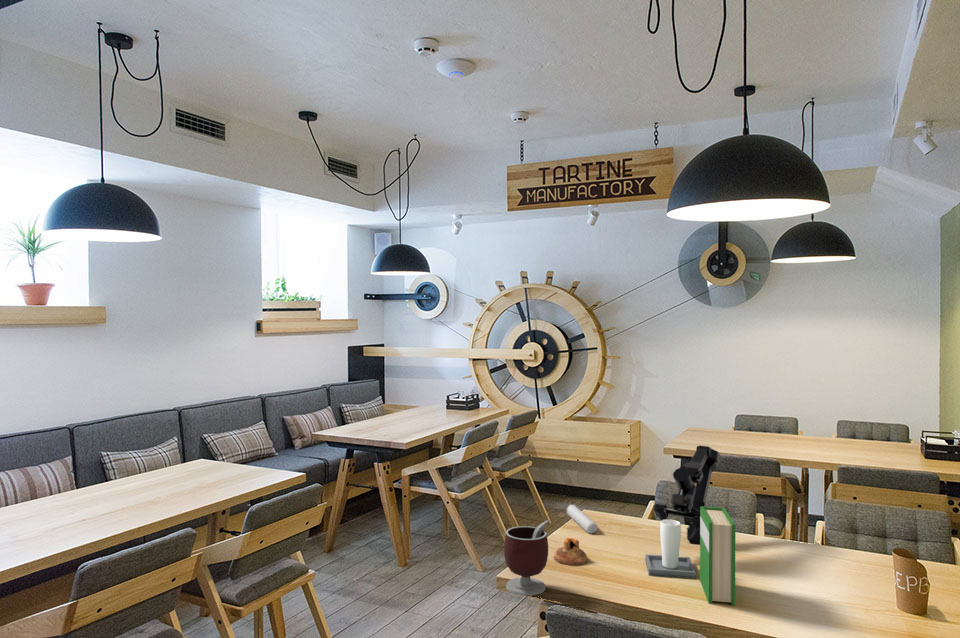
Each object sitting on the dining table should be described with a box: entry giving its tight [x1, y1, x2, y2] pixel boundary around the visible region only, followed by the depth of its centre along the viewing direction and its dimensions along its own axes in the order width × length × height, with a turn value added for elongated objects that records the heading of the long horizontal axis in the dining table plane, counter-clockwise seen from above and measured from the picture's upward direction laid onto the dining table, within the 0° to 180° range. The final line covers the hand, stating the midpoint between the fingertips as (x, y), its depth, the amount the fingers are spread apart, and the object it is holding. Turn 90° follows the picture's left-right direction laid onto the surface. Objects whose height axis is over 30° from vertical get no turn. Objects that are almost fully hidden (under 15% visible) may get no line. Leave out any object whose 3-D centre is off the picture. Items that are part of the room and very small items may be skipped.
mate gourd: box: [503, 519, 550, 597], centre depth 199 cm, size 16×14×20 cm
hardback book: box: [699, 506, 736, 607], centre depth 196 cm, size 18×7×24 cm, turn 169°
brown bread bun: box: [553, 537, 588, 566], centre depth 223 cm, size 12×12×7 cm
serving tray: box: [644, 553, 697, 580], centre depth 214 cm, size 15×14×2 cm
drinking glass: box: [659, 518, 682, 569], centre depth 215 cm, size 7×7×15 cm
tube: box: [566, 504, 598, 534], centre depth 262 cm, size 5×5×25 cm
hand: (676, 535), depth 221 cm, fingers open, 9 cm apart
